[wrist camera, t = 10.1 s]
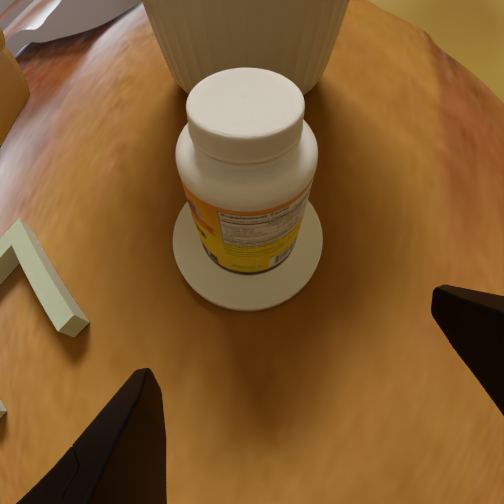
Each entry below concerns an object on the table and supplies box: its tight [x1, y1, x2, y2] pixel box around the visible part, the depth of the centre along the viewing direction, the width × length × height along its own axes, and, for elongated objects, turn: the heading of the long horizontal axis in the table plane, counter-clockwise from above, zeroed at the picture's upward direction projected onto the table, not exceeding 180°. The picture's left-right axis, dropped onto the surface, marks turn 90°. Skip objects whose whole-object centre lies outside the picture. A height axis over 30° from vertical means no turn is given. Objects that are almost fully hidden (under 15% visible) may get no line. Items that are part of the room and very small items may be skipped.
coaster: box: [173, 200, 323, 312], centre depth 19 cm, size 9×9×1 cm
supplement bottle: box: [175, 68, 318, 276], centre depth 14 cm, size 6×6×10 cm
